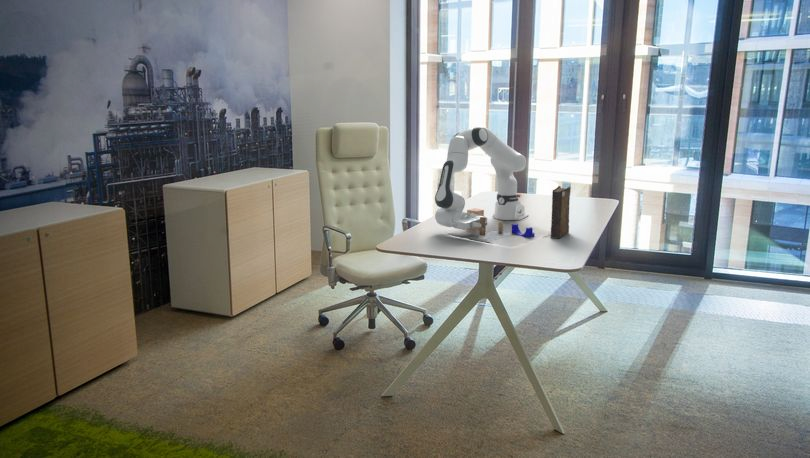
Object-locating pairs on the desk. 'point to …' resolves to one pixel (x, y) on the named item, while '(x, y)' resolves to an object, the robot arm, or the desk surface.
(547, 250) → the desk surface
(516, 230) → the cable clip
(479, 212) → the block
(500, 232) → the board
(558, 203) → the book
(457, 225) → the robot arm
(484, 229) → the pin
